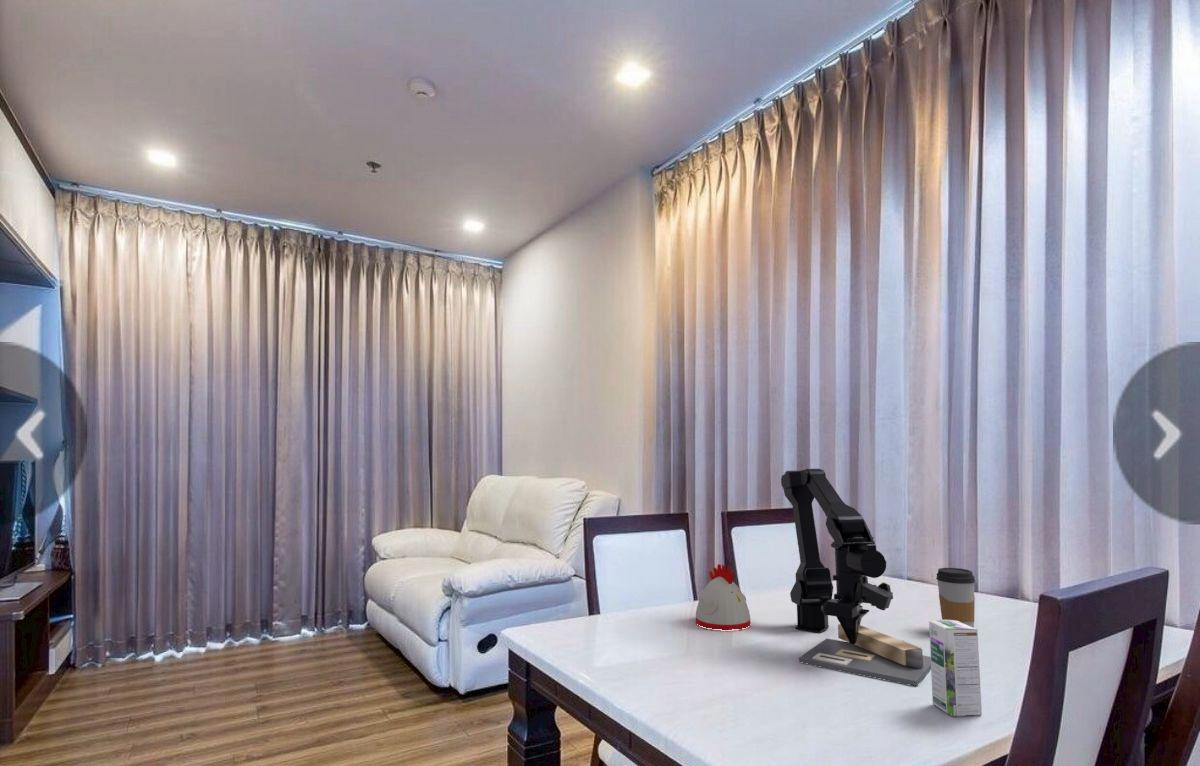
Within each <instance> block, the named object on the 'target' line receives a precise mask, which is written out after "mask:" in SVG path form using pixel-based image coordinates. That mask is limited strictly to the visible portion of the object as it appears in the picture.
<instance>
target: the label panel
mask: <svg viewBox="0 0 1200 766" xmlns="http://www.w3.org/2000/svg"><path fill="white" fill-rule="evenodd" d="M798 662H803V663H802V664H804V663H808V664H807V665H809V664H812V665H811V666H814V665H816V666H815V667H819V666H821V667H820V668H823V667H825V668H824V669H828V668H830V669H829V670H833V669H835V670H834V671H838V670H841V671H840V672H843V671H844V673H848V672H850V674H853V673H855V674H854V675H858V674H861V675H860V676H863V675H865V676H864V677H867V676H871V677H870V678H872V677H876V678H875V679H877V678H881V679H880V680H882V679H885V680H884V681H887V680H890V681H889V682H892V681H894V683H897V682H900V683H899V684H902V683H904V684H903V685H907V684H910V685H909V686H911V685H914V686H913V687H916V686H917V687H919V685H920V684H921V683H922V681H923V680H924V679H925V677H926V676H927V675H928V674H929V673H930V672H931V656H928V655H924V654H923V667H921V668H913V667H908V666H906V665H902V664H900V663H897V662H895V661H893V660H890V659H888V658H885V657H883V656H881V655H878V654H876V653H873V652H871V651H868V650H866V649H864V648H861V647H859V646H856V645H854V644H851V643H849V642H847V641H844V640H840V639H839V640H838V639H833V638H832V639H831V638H825V639H823V640H822V641H821V642H818V644H817V645H815V646H814V647H812V648H811V649H810V650H808V651H806V652H805V653H803V654H802V655H801V656H799V657H798ZM920 682H921V683H920ZM919 683H920V684H919ZM918 684H919V685H918ZM915 685H916V686H915Z"/></svg>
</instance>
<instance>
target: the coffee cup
mask: <svg viewBox="0 0 1200 766" xmlns="http://www.w3.org/2000/svg"><path fill="white" fill-rule="evenodd" d="M936 581H937V587H938V599H939V607H940V613H941V620H955V621H959V622H961V623H963V624H966V625H968V626H970V627H972V628H975V609H976V608H975V605H976V604H975V603H976V601H975V599H976V598H975V583H976V580H975V575H974V573H973V571H972V570H969V569H966V568H965V569H964V568H958V567H957V568H956V567H941V568H938V569H937V573H936Z"/></svg>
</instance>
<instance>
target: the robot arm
mask: <svg viewBox="0 0 1200 766" xmlns="http://www.w3.org/2000/svg"><path fill="white" fill-rule="evenodd" d="M826 475H827V474H826V472H825V470H824V469H821V468H805V469H802V470H786V471H785V472H784V474H782V475H781V479H780V484H781V486H782V489H783V492H784V493H783V494H784V496H785V498H786V499H787V500H788V502H789V503H790V505H792V511H793V519H794V525H795V526H794V527H795V532H796V540H797V546H798V553H799V554H798V555H799V561H800V562H799V566H798V567H797V569H796V572H795V582H794V585H793V587H792V588H791V591H790V593H789V594H790V601H791V602H792V603H794V604H796V617H797V618H796V619H797V621H796V622H797V623H796V624H797V625H795V626H794V629H795V630H799V631H800V630H802V631H807V632H813V633H818V634H819V633H820V634H821V633H823V632H824V631H825V630H827V629H829V627H830V626H829V616H830V617H836V619H837V620H838V623H839V624H841V626H842V628H843V630H844V632H845V634H846V636H847V638H848V640H849V642H850V643H851V644H856V640H857V636H858V631H859V627H860V625H861V622H862V618H863V617H864V616H866V615H867V614H868V613H869V612H870V610H869V609H865V608H864V606H863V605H862V604H870V606H871V607H876V609H878V610H880V611H885V610H887V609H889V608H890V605H891V602H892V600H893V599H894V593H893V592H892V590H891V585H890V584H888V583H885V582H881V583H880V584H879V585H877V584H872V583H871V582H870V583H869V582H868V580H869V579H868V578H872V579H877V578H879V577H881V576H883V574H884V573H885V571H886V569H887V560H886V558H885V556H884V555H883V553H882V552H881V551H879V550H877V545H876V543H875V540H874V536H873V534H872V532H871V530H870V529H869V526H868V525H867V522H866V520H865V519H864V517H863V515H862V514H861V513H859V511H858V510H857V509H856V508H854V507H853V506H850V505H848V504H846V503H845V502H844V501H843V500H842V498H841V497H840V495H839V494H838V493H837V491H836V490H835V488H834V486H833V485H832V483H831V482H830V481H829V480H828V478H827V476H826ZM814 499H815V500H816V502H817V503H818V505H819V506H820V508H821V509H822V511H823V513H824V515H825V516H826V520H825V526H826V528H827V532H828V533H829V535H830V537H831V538H832V540H833V542H831V544H830V547H831V548H834V561H835V565H834V566H835V574H832V577H831V570H830V569H829V567H825V565H824V564H823V563H822V561H821V557H820V549H819V543H818V536H817V535H818V534H817V530H816V522H815V516H814V509H813V501H814ZM833 581H835V584H836V586H835V587H836V593H834V585H833Z"/></svg>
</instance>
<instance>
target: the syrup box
mask: <svg viewBox="0 0 1200 766" xmlns="http://www.w3.org/2000/svg"><path fill="white" fill-rule="evenodd" d="M928 625H929V645H930V646H929V649H930V651H929V652H930V657H931V670H930V672H931V673H930V674H931V677H930V678H931V692H932V693H931V696H932V700H931V701H932V705H933V706H935V705H936V707H937V708H938V709H940V710H941V711H943V712H945V714H947V715H948V716H949V717H951V716H957V717H964V716H963V715H974V716H982V715H983V712H982V709H983V708H982V707H983V706H982V694H981V688H982V687H981V674H980V673H981V672H980V671H981V670H980V654H979V653H980V652H979V651H980V650H979V633H978V628H976V627H974V628H972V627H970V626H968V625H966V624H963V623H961V622H959V621H955V620H942V619H934V620H929V624H928Z"/></svg>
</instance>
